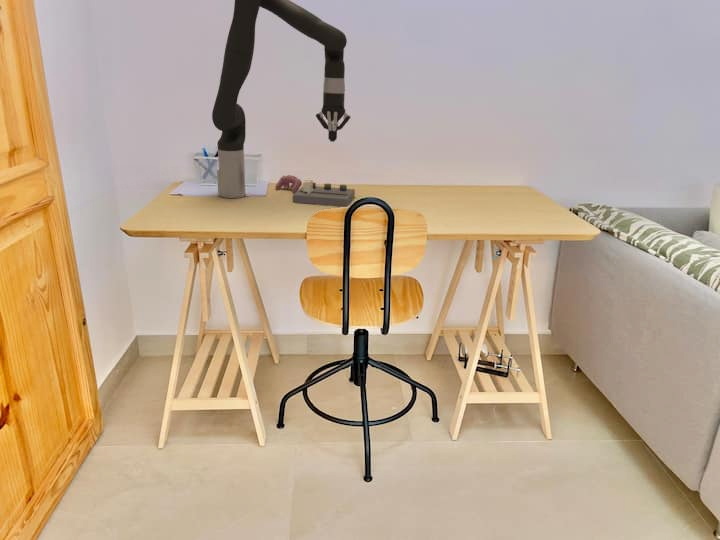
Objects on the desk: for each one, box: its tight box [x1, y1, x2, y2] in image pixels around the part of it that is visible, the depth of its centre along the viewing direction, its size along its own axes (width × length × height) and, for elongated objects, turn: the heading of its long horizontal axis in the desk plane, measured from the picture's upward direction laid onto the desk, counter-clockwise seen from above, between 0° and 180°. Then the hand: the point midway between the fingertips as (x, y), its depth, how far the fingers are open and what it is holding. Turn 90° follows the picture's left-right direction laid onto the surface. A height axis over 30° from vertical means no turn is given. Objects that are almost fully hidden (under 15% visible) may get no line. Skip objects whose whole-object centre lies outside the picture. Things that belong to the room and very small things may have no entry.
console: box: [292, 182, 356, 207], centre depth 206 cm, size 20×16×5 cm
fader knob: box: [302, 179, 314, 192], centre depth 203 cm, size 2×4×4 cm, turn 171°
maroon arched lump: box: [274, 174, 303, 194], centre depth 216 cm, size 10×5×7 cm, turn 59°
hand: (332, 141), depth 201 cm, fingers closed
